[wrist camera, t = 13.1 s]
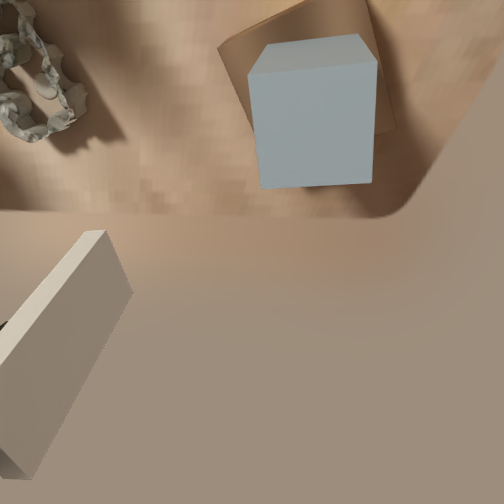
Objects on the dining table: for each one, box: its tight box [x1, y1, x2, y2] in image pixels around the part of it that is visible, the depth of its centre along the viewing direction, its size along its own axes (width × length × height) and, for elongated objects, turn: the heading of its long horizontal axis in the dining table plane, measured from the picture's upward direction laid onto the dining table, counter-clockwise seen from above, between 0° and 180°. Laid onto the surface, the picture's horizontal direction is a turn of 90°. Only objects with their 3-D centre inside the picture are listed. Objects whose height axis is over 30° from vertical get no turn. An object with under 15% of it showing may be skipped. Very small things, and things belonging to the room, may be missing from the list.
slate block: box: [247, 34, 378, 189], centre depth 24 cm, size 6×6×10 cm
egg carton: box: [0, 0, 88, 143], centre depth 33 cm, size 11×8×4 cm
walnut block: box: [217, 0, 397, 136], centre depth 31 cm, size 10×10×5 cm
